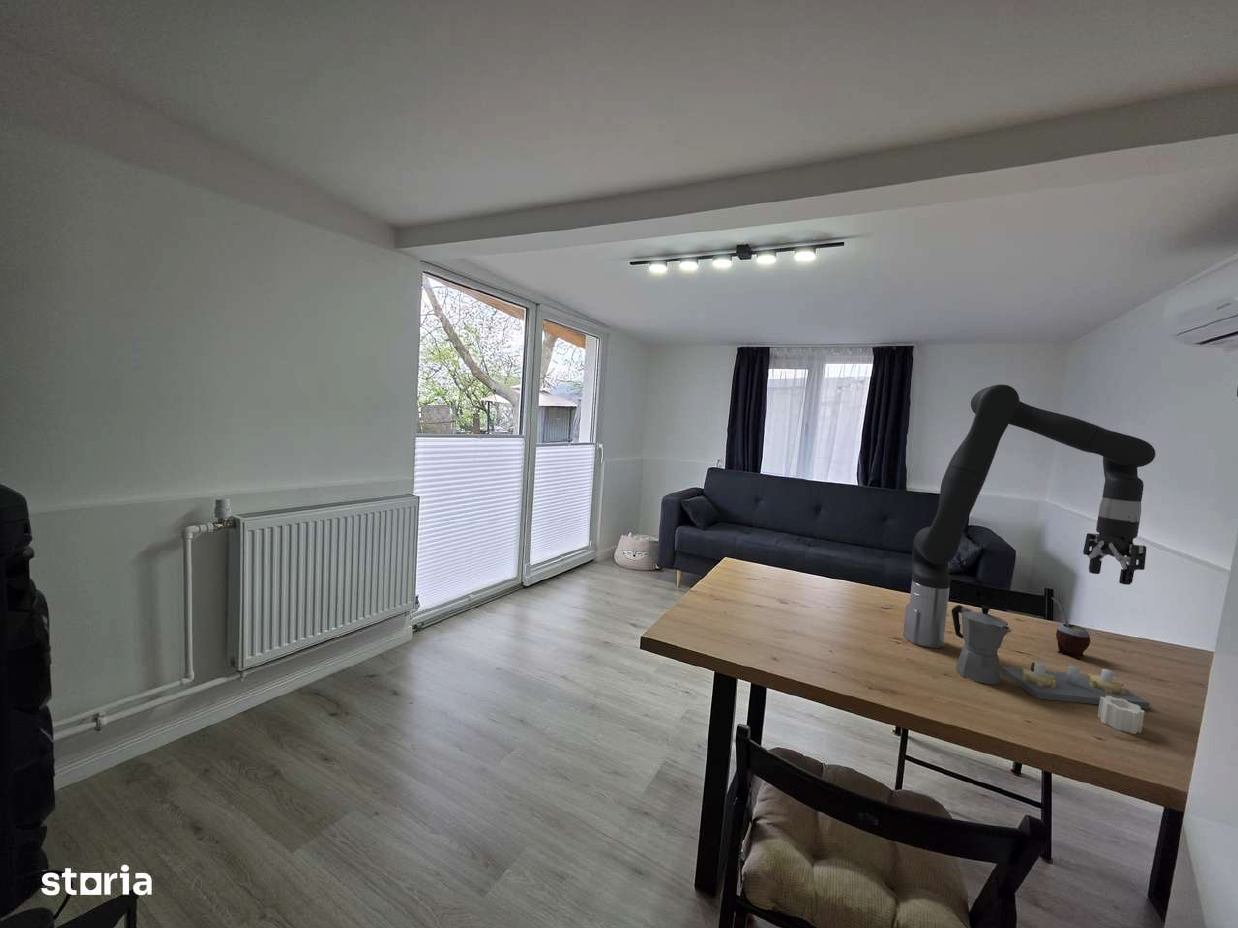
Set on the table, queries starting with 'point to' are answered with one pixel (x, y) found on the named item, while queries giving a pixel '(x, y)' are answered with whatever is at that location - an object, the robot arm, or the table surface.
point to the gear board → (1071, 685)
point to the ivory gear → (1121, 714)
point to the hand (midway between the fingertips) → (1109, 578)
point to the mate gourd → (1071, 638)
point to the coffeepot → (979, 644)
